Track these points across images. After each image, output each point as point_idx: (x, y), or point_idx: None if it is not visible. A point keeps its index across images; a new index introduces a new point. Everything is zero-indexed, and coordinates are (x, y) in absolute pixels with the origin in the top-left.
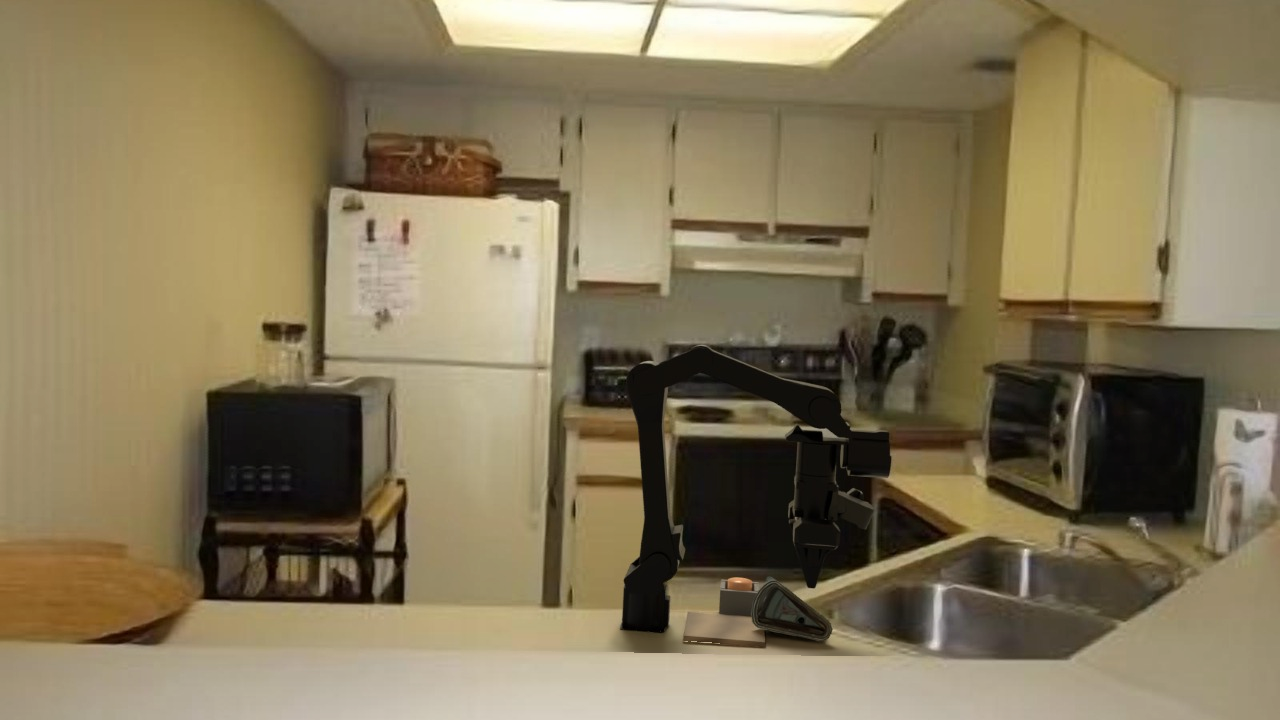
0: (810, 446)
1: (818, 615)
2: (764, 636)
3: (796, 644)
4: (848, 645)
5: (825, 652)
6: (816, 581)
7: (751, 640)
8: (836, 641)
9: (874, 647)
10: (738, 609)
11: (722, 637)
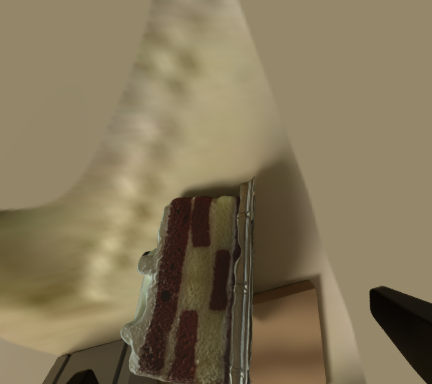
0: None
1: (246, 224)
2: (285, 296)
3: (260, 236)
4: (220, 136)
5: (284, 177)
6: (422, 303)
7: (314, 309)
8: (205, 165)
9: (207, 73)
10: (148, 381)
11: (317, 351)
